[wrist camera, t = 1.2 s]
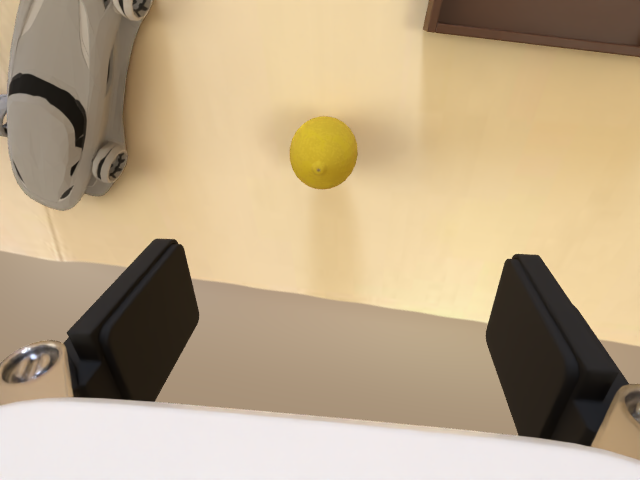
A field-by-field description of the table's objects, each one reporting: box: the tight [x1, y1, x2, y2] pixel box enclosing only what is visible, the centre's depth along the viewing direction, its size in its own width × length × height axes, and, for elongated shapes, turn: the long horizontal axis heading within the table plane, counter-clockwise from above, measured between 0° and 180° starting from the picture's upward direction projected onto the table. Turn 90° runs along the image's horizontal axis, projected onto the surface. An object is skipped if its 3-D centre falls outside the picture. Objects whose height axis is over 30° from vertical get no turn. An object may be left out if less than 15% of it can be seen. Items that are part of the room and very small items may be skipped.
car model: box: [0, 0, 153, 211], centre depth 33 cm, size 11×24×5 cm, turn 154°
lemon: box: [290, 117, 358, 189], centre depth 32 cm, size 6×6×8 cm
